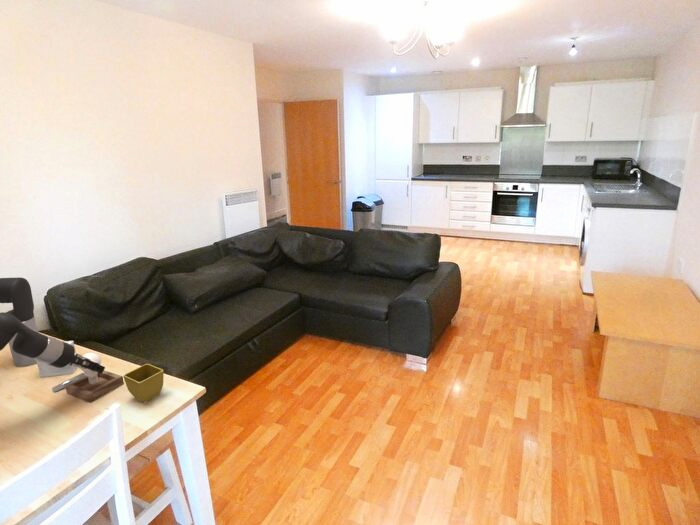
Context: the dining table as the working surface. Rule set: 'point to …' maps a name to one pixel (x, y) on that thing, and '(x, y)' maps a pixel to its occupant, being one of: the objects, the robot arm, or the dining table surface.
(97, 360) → the lightbulb
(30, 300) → the robot arm
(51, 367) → the skincare box
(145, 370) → the flower pot
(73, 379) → the pin
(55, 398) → the dining table surface
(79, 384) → the brown wooden tray
